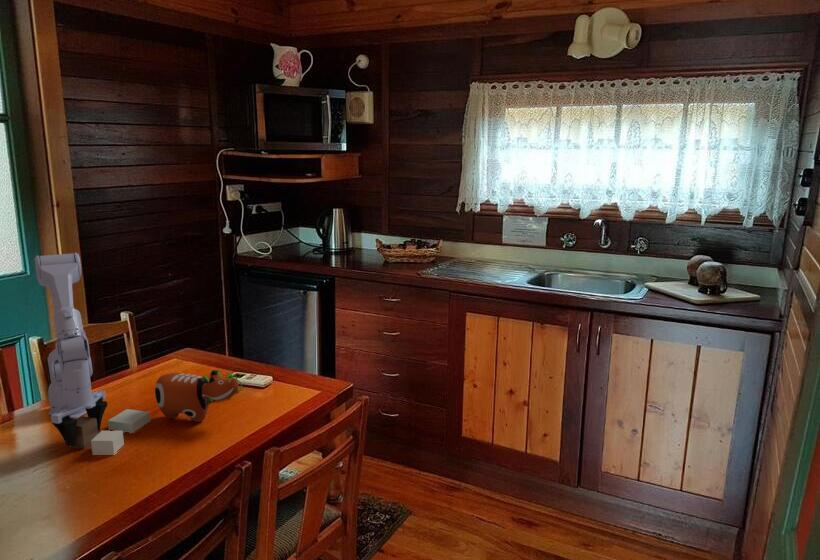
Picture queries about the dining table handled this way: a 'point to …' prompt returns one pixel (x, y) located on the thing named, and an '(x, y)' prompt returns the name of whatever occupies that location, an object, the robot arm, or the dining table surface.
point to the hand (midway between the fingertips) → (83, 437)
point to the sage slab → (129, 420)
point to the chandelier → (221, 376)
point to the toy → (192, 393)
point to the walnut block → (85, 431)
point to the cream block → (107, 442)
